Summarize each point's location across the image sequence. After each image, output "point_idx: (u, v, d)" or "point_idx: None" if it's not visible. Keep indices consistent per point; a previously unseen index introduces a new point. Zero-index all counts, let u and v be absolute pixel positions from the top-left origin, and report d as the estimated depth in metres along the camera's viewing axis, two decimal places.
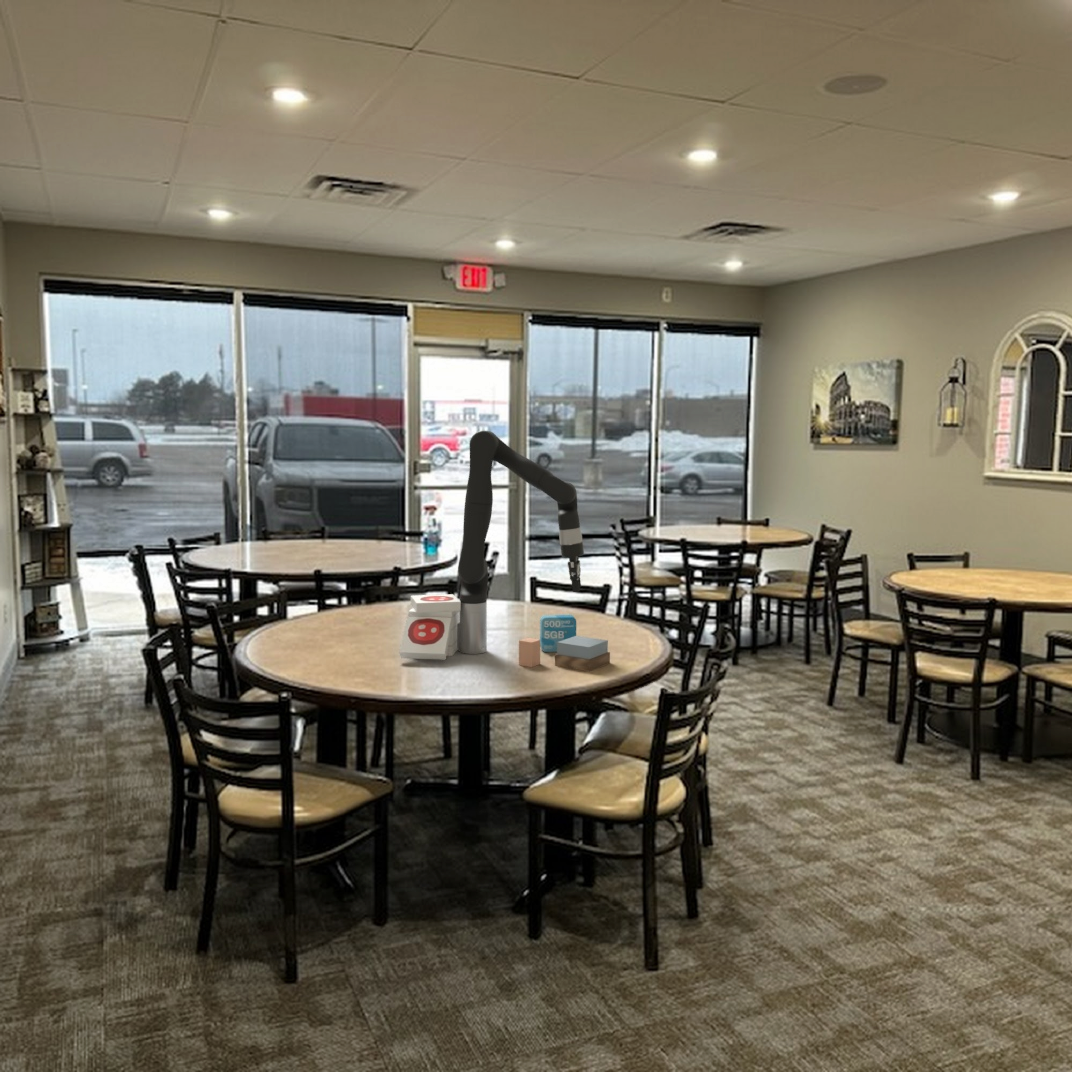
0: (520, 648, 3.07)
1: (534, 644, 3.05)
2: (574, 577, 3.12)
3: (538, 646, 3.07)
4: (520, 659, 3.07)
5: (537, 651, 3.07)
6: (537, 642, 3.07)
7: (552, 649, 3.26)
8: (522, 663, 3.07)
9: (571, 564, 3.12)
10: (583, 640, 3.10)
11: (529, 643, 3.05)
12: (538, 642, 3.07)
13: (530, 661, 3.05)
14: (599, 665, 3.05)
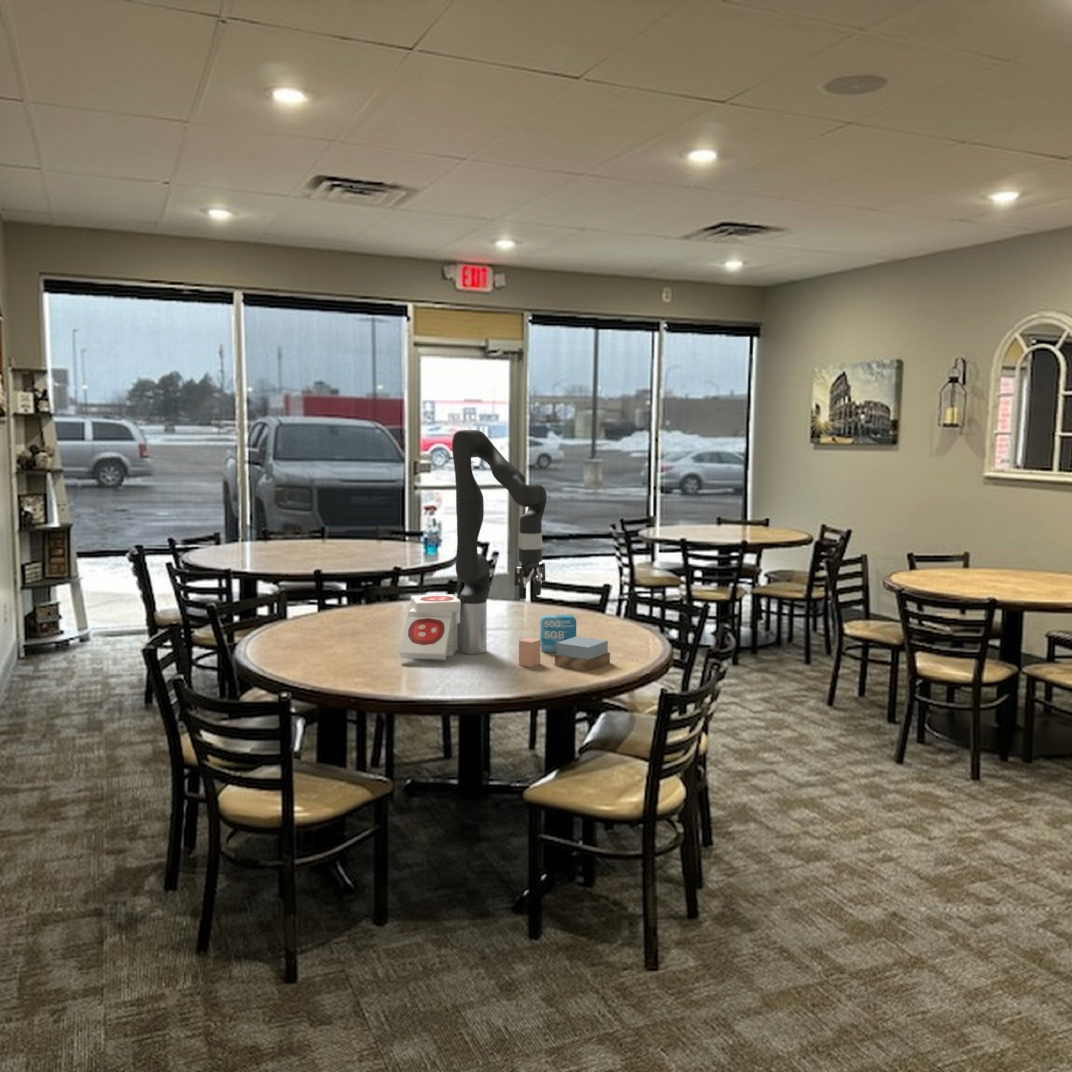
0: (520, 648, 3.07)
1: (534, 644, 3.05)
2: (518, 583, 2.99)
3: (538, 646, 3.07)
4: (520, 659, 3.07)
5: (537, 651, 3.07)
6: (537, 642, 3.07)
7: (552, 649, 3.26)
8: (522, 663, 3.07)
9: (517, 570, 2.99)
10: (583, 640, 3.09)
11: (529, 643, 3.05)
12: (538, 642, 3.07)
13: (530, 661, 3.05)
14: (599, 665, 3.05)
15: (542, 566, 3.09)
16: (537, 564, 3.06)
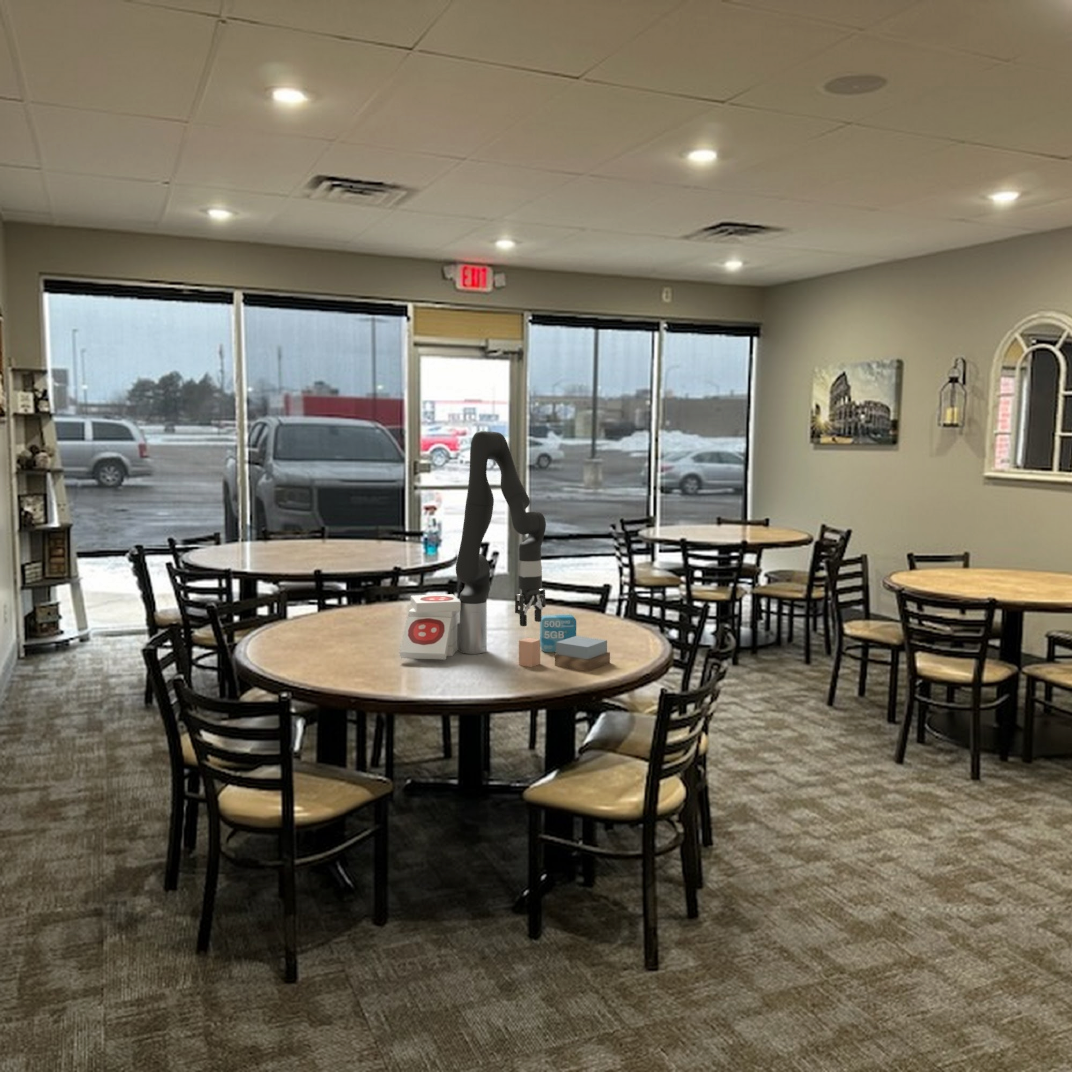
0: (520, 648, 3.07)
1: (534, 644, 3.05)
2: (518, 611, 3.00)
3: (538, 646, 3.07)
4: (520, 659, 3.07)
5: (537, 651, 3.07)
6: (537, 642, 3.07)
7: (552, 649, 3.26)
8: (522, 663, 3.07)
9: (517, 597, 3.00)
10: (582, 640, 3.10)
11: (529, 643, 3.05)
12: (538, 642, 3.07)
13: (530, 661, 3.05)
14: (599, 665, 3.05)
15: (542, 593, 3.10)
16: (537, 591, 3.07)
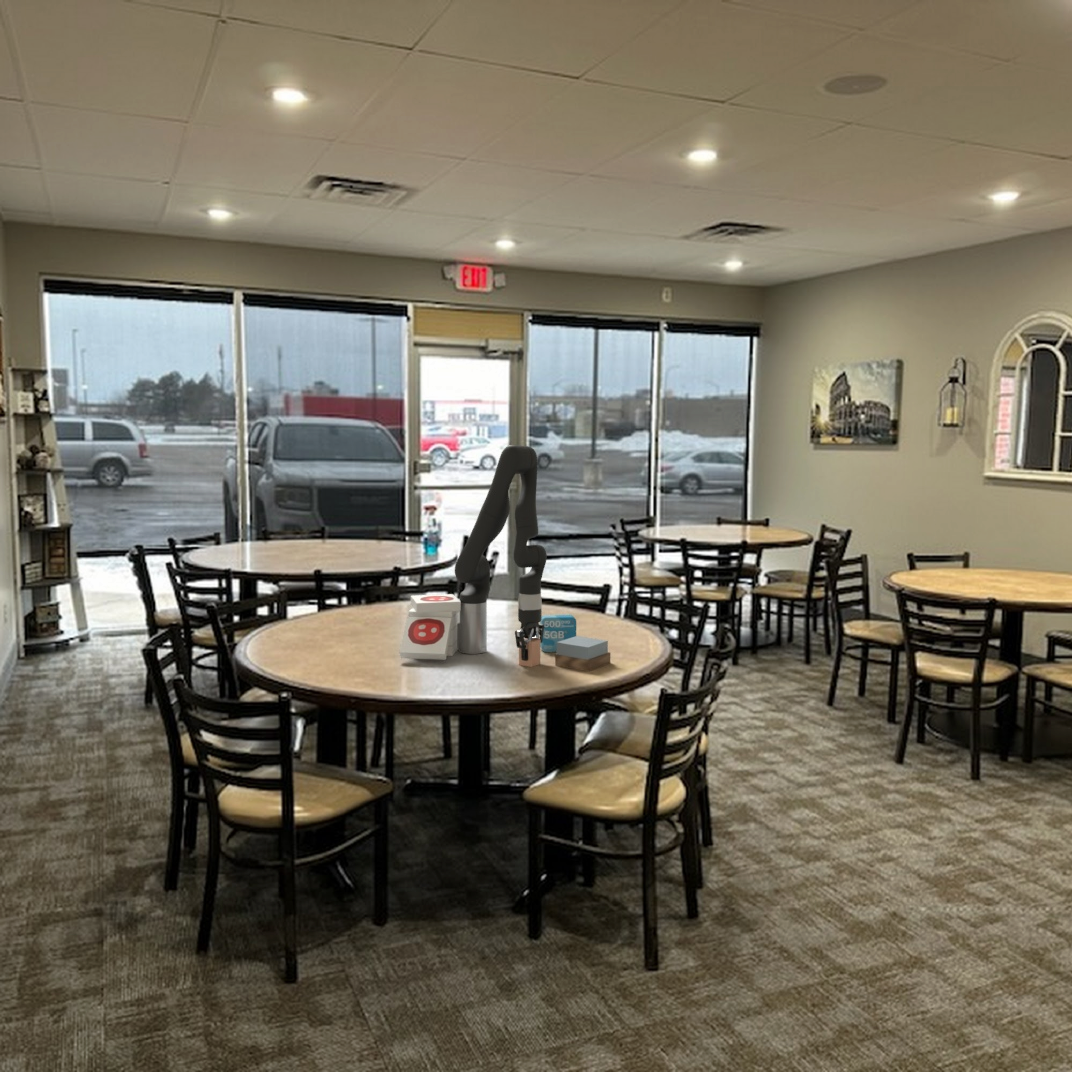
0: (520, 648, 3.07)
1: (534, 644, 3.05)
2: (520, 646, 3.03)
3: (538, 646, 3.07)
4: (520, 659, 3.07)
5: (537, 651, 3.07)
6: (537, 642, 3.07)
7: (552, 649, 3.26)
8: (522, 663, 3.07)
9: (517, 634, 3.02)
10: (583, 640, 3.09)
11: (529, 643, 3.05)
12: (538, 642, 3.07)
13: (530, 661, 3.05)
14: (599, 665, 3.05)
15: (541, 627, 3.11)
16: (537, 623, 3.09)
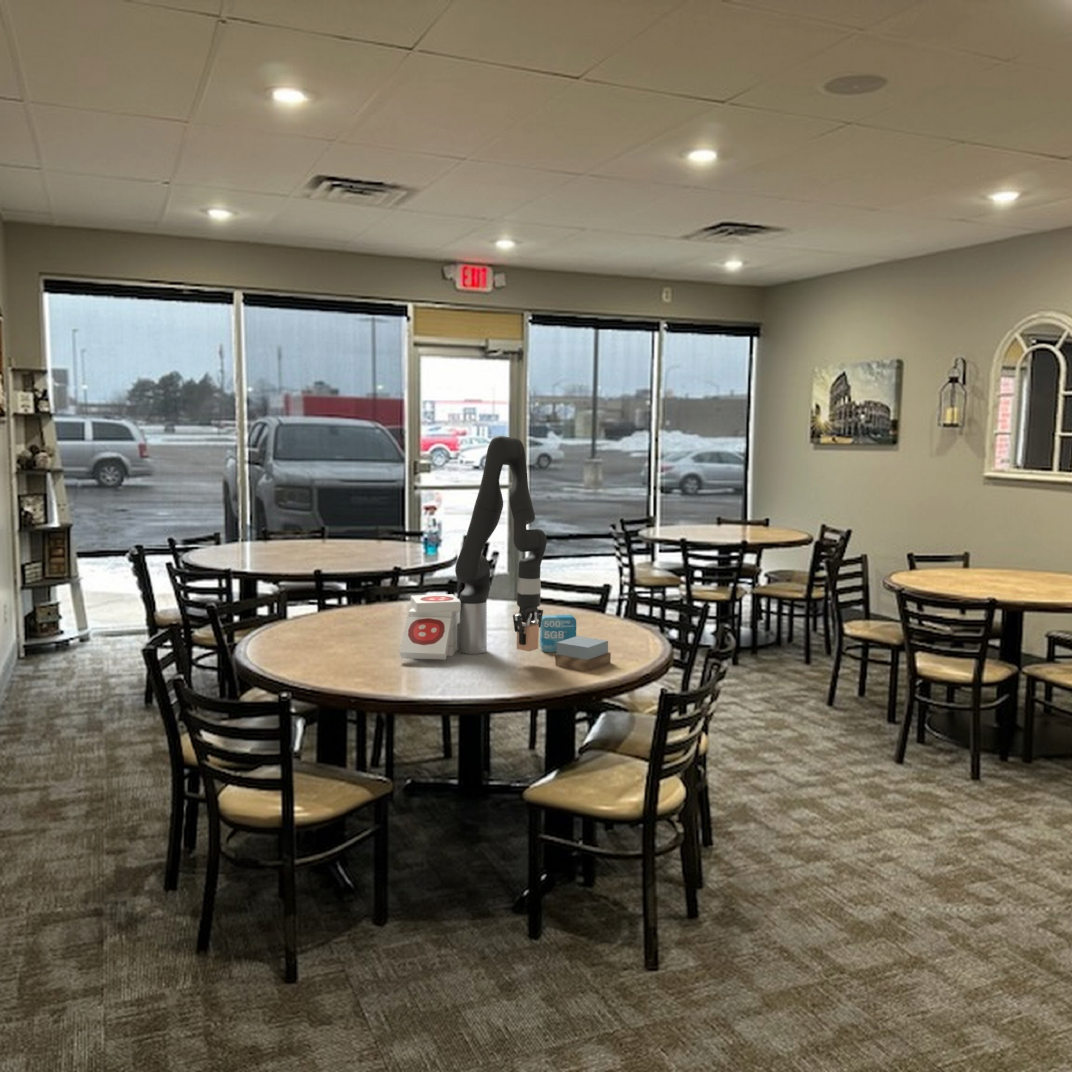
0: None
1: (532, 628, 3.05)
2: (518, 630, 3.02)
3: (536, 631, 3.07)
4: (518, 643, 3.06)
5: (535, 636, 3.07)
6: (535, 627, 3.06)
7: (552, 649, 3.26)
8: (520, 647, 3.06)
9: (515, 618, 3.01)
10: (583, 640, 3.09)
11: (527, 627, 3.04)
12: (536, 627, 3.07)
13: (528, 646, 3.04)
14: (599, 665, 3.05)
15: (540, 612, 3.10)
16: (536, 608, 3.08)
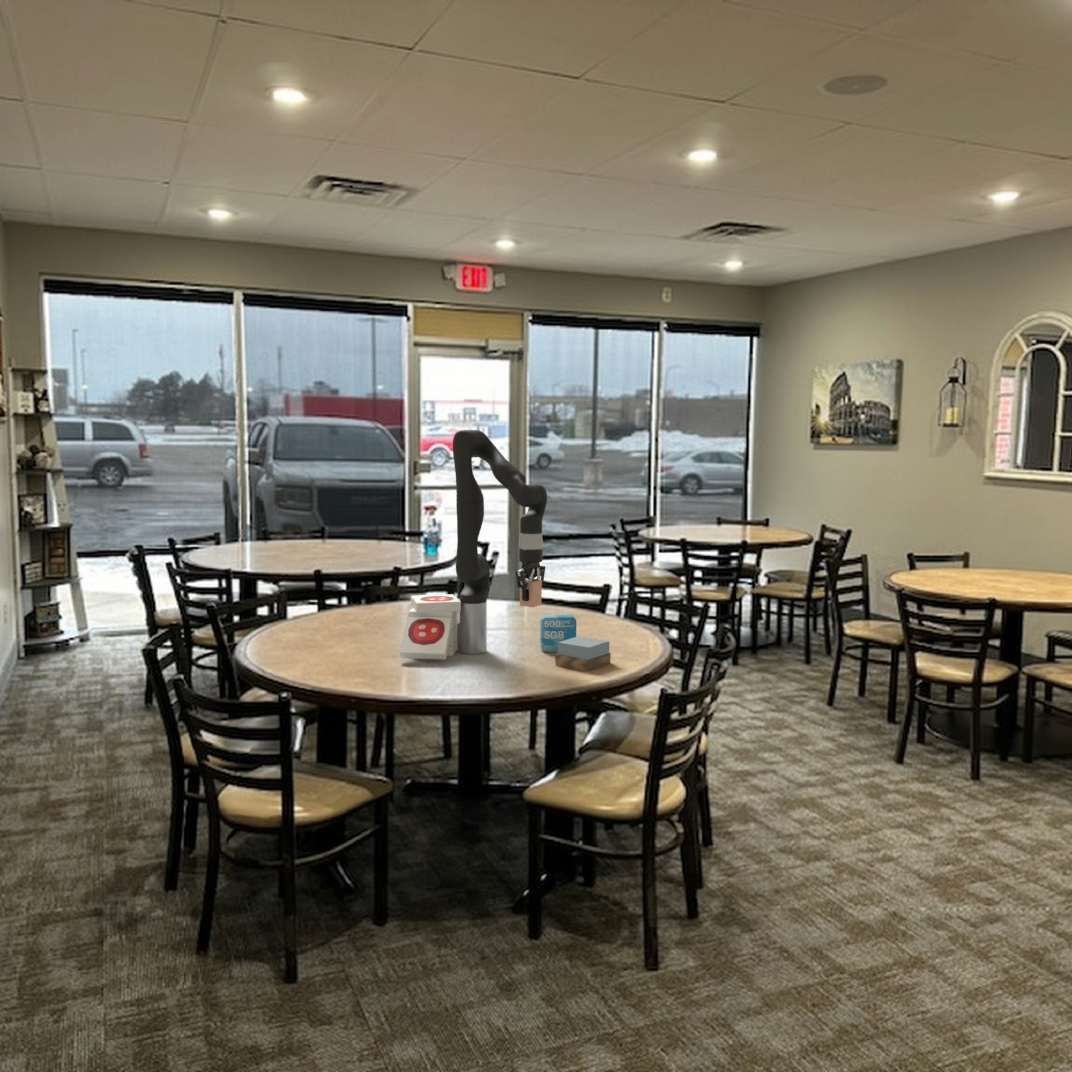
0: None
1: (535, 584, 3.03)
2: (521, 585, 3.01)
3: (539, 587, 3.05)
4: (521, 600, 3.05)
5: (538, 592, 3.05)
6: (538, 582, 3.05)
7: (552, 649, 3.26)
8: (523, 604, 3.05)
9: (518, 573, 3.00)
10: (584, 640, 3.09)
11: (530, 583, 3.02)
12: (539, 583, 3.05)
13: (531, 601, 3.03)
14: (599, 665, 3.05)
15: (542, 568, 3.09)
16: (538, 564, 3.06)
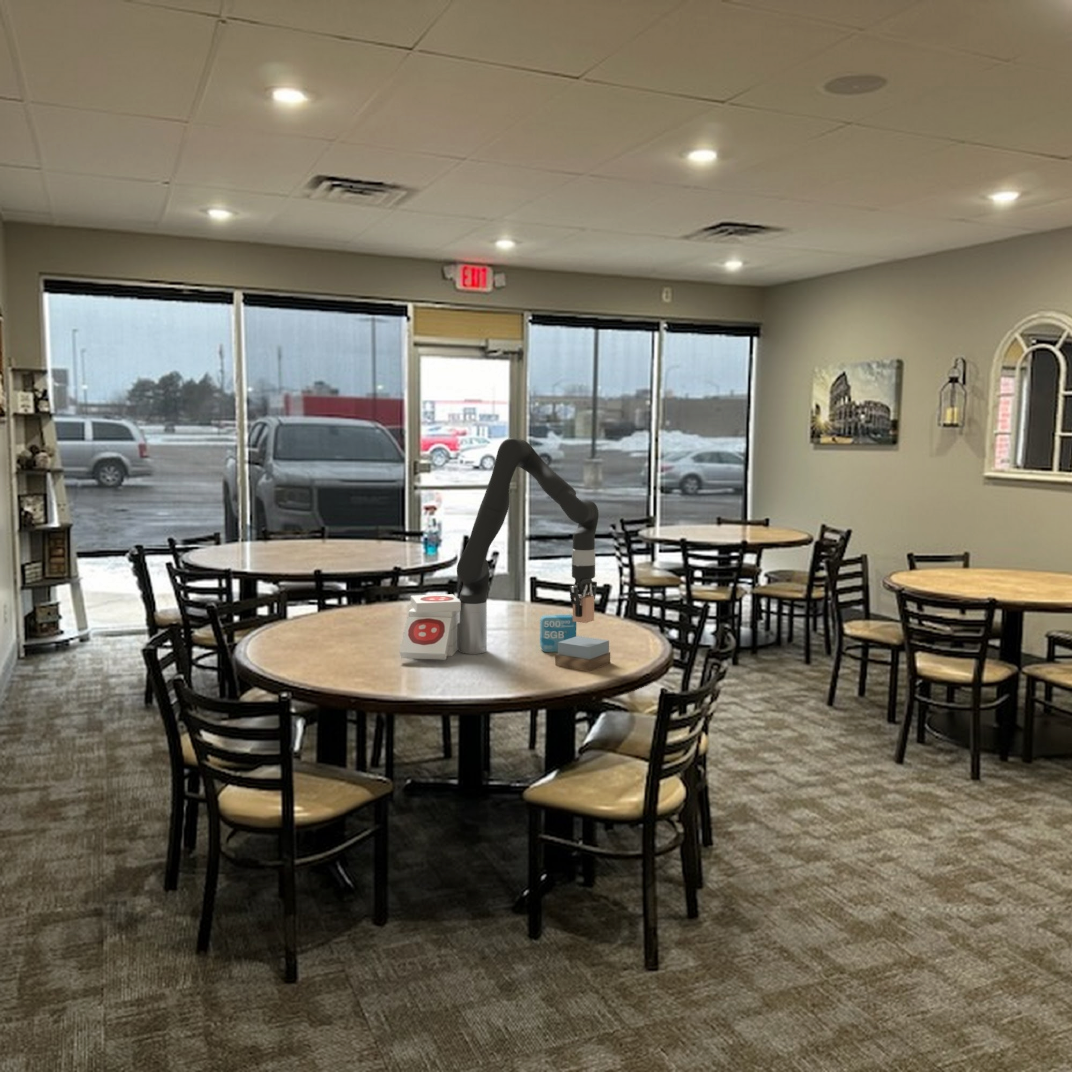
0: None
1: (588, 600, 3.04)
2: (575, 602, 3.02)
3: (592, 602, 3.07)
4: (574, 615, 3.06)
5: (591, 607, 3.06)
6: (591, 598, 3.06)
7: (552, 649, 3.26)
8: (576, 619, 3.06)
9: (572, 589, 3.01)
10: (584, 640, 3.10)
11: (583, 599, 3.04)
12: (592, 598, 3.06)
13: (584, 617, 3.04)
14: (599, 665, 3.05)
15: (594, 584, 3.10)
16: (590, 579, 3.08)
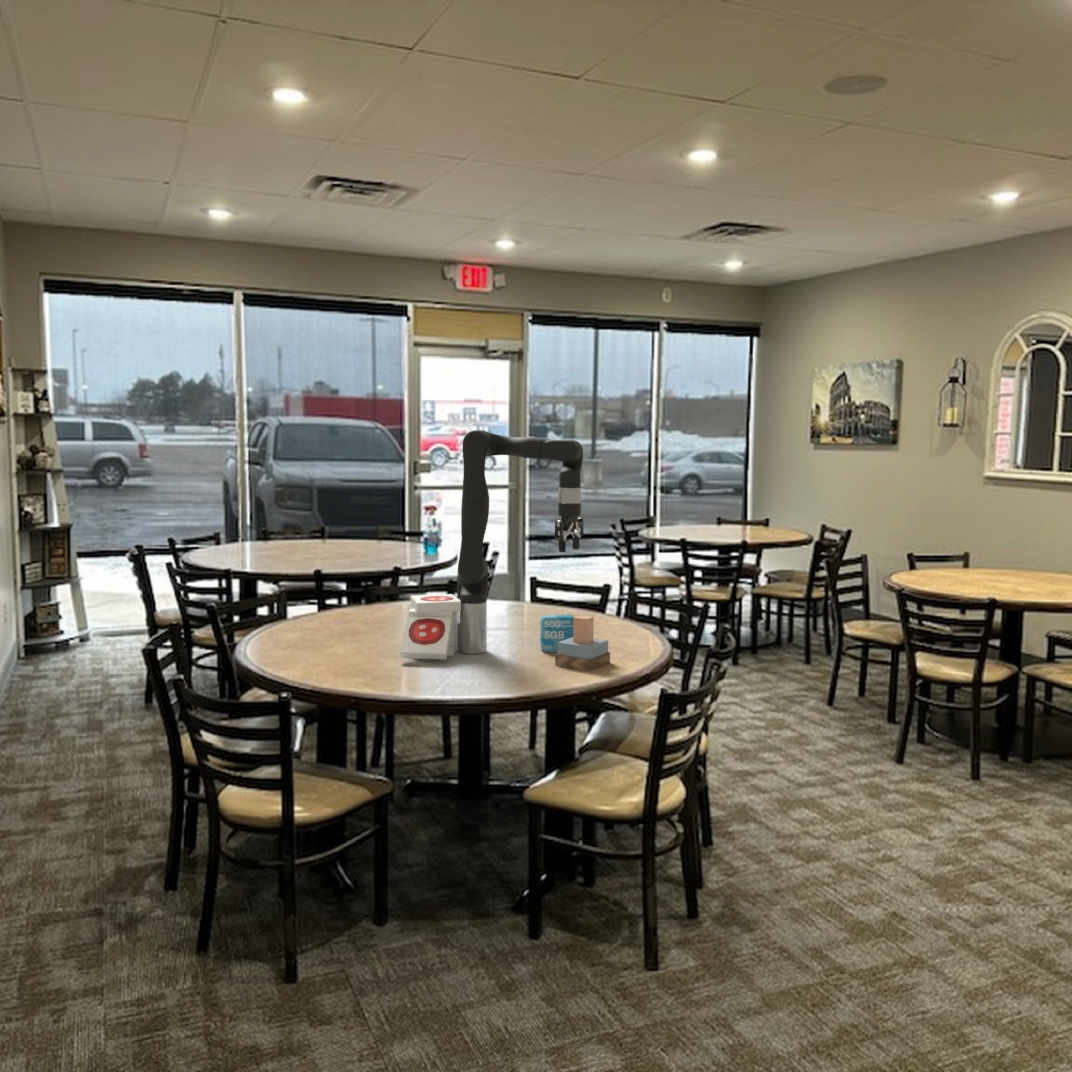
0: (575, 625, 3.06)
1: (589, 620, 3.05)
2: (558, 536, 3.06)
3: (592, 623, 3.08)
4: (575, 636, 3.06)
5: (591, 628, 3.08)
6: (591, 619, 3.07)
7: (552, 649, 3.26)
8: (577, 640, 3.06)
9: (557, 523, 3.06)
10: None
11: (585, 620, 3.04)
12: (592, 619, 3.08)
13: (586, 638, 3.05)
14: (599, 665, 3.05)
15: (580, 521, 3.16)
16: (576, 519, 3.13)
